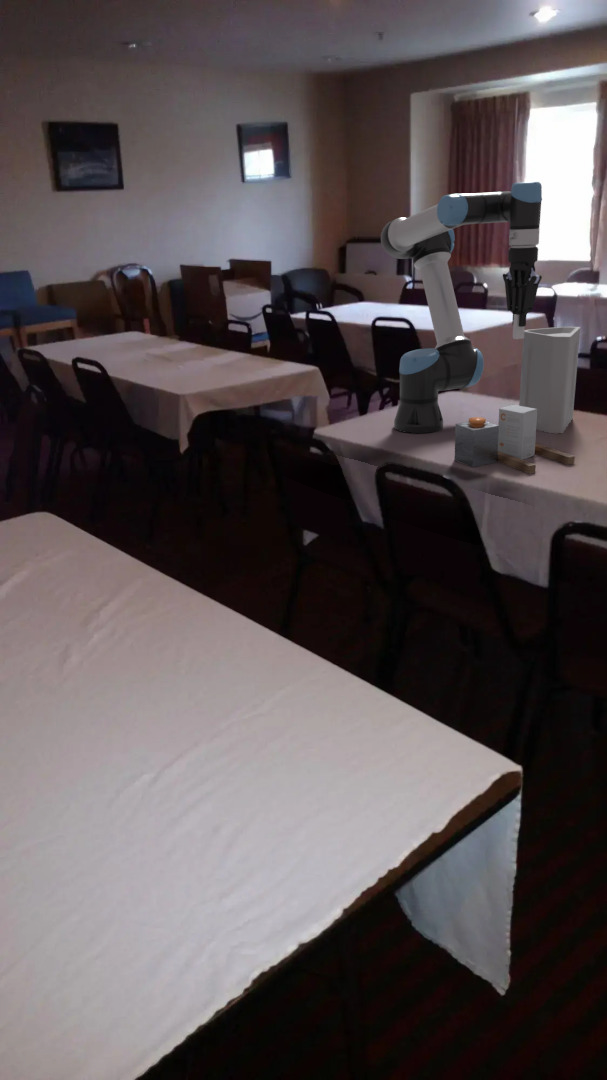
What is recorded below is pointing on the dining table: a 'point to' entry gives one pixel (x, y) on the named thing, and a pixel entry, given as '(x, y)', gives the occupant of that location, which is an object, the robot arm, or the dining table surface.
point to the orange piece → (477, 421)
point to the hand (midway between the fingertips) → (518, 338)
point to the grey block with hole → (476, 444)
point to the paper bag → (550, 375)
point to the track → (539, 450)
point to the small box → (517, 431)
